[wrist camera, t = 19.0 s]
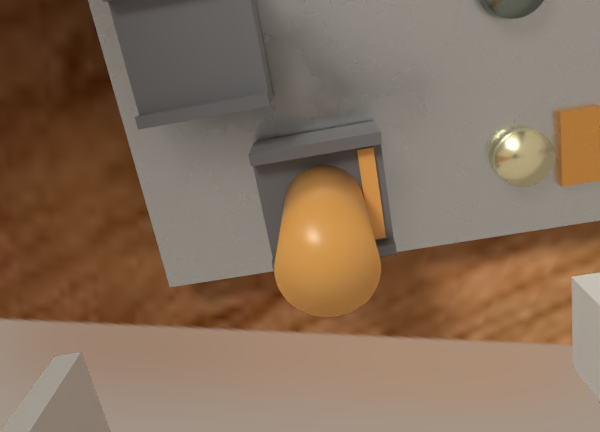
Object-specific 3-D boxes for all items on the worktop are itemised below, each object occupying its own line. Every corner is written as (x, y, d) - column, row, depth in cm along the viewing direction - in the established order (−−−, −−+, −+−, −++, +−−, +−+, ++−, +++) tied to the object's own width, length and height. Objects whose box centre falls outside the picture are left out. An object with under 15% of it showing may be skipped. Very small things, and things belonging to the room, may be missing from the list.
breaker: (154, 119, 30) (137, 129, 27) (119, -10, 28) (98, -13, 25) (273, 97, 29) (269, 106, 26) (247, -36, 27) (240, -42, 24)
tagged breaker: (277, 251, 32) (273, 273, 29) (254, 141, 30) (248, 154, 27) (389, 233, 32) (397, 254, 29) (374, 120, 29) (380, 131, 27)
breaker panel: (177, 272, 35) (165, 295, 32) (96, -18, 30) (73, -22, 27) (589, 207, 33) (615, 225, 30) (585, -117, 28) (616, -132, 25)
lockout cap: (277, 172, 28) (264, 229, 21) (357, 158, 28) (373, 212, 20) (292, 245, 29) (285, 324, 22) (368, 233, 29) (387, 309, 22)
